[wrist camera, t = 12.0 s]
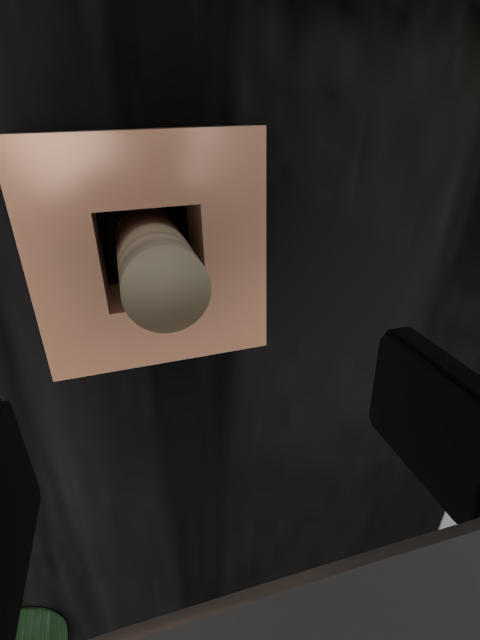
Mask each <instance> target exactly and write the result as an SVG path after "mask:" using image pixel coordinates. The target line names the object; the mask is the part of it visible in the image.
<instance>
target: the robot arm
mask: <svg viewBox="0 0 480 640" xmlns="http://www.w3.org/2000/svg"><path fill="white" fill-rule="evenodd" d="M369 416H370V421H371V423H372V425H373V427H374V428H375V429H376V430H377V432H378V433H379V434H380V435H381V436H382V437H383V439H384V440H385V441H386V442H387V443H388V444H389V446H390V447H391V448H392V449H393V450H394V451H395V453H396V454H397V455H398V456H399V457H400V458H401V460H402V461H403V462H404V463H405V464H406V465H407V467H408V468H409V469H410V470H411V471H412V473H413V474H414V475H415V476H416V477H417V478H418V480H419V481H420V482H421V483H422V484H423V485H424V487H425V488H426V489H427V490H428V491H429V492H430V494H431V495H432V496H433V497H434V498H435V499H436V501H437V502H438V503H439V504H440V505H441V506H442V508H443V509H444V510H445V511H446V512H447V513H448V514H449V516H450V517H451V518H452V519H453V520H454V521H455V522H456V523H457V524H458V525H454V526H451V527H448V528H444V529H441V530H437V531H434V532H431V533H428V534H424V535H421V536H418V537H414V538H411V539H408V540H404V541H401V542H398V543H394V544H391V545H388V546H385V547H381V548H378V549H375V550H372V551H368V552H365V553H362V554H359V555H355V556H352V557H349V558H346V559H342V560H339V561H336V562H333V563H329V564H326V565H323V566H320V567H316V568H313V569H310V570H307V571H303V572H300V573H297V574H294V575H290V576H287V577H284V578H281V579H278V580H274V581H271V582H268V583H265V584H261V585H258V586H255V587H252V588H249V589H245V590H242V591H239V592H236V593H233V594H229V595H226V596H223V597H220V598H217V599H214V600H210V601H207V602H204V603H201V604H198V605H194V606H191V607H188V608H185V609H182V610H179V611H175V612H172V613H169V614H166V615H163V616H159V617H156V618H153V619H150V620H147V621H144V622H140V623H137V624H134V625H131V626H128V627H125V628H122V629H118V630H115V631H112V632H109V633H106V634H103V635H100V636H97V637H94V638H91V639H88V640H480V375H478V374H477V373H476V372H474V371H473V370H471V369H470V368H468V367H467V366H466V365H464V364H463V363H461V362H460V361H458V360H457V359H455V358H454V357H453V356H451V355H450V354H448V353H447V352H445V351H444V350H443V349H441V348H440V347H438V346H437V345H435V344H434V343H432V342H431V341H430V340H428V339H427V338H425V337H424V336H422V335H421V334H420V333H418V332H417V331H415V330H414V329H412V328H410V327H402V328H396V329H390V330H388V331H386V333H385V335H384V336H383V337H381V339H380V343H379V350H378V357H377V364H376V371H375V378H374V385H373V392H372V399H371V406H370V413H369ZM39 506H40V490H39V485H38V482H37V479H36V476H35V473H34V471H33V468H32V465H31V462H30V459H29V456H28V453H27V450H26V447H25V444H24V441H23V438H22V435H21V432H20V429H19V426H18V423H17V420H16V417H15V414H14V411H13V408H12V405H11V403H10V402H9V401H3V402H2V401H1V399H0V640H15V639H16V634H17V628H18V622H19V617H20V611H21V606H22V600H23V595H24V589H25V583H26V578H27V572H28V567H29V561H30V556H31V550H32V545H33V539H34V533H35V528H36V522H37V517H38V511H39Z"/></svg>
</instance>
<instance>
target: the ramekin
mask: <svg viewBox="0 0 480 640" xmlns="http://www.w3.org/2000/svg"><path fill="white" fill-rule="evenodd" d="M15 640H68V631H67V624H66V622H65V620H64V618H63V617H62V616H61V615H60V614H58V613H57V612H55V611H52V610H50V609H46V608H40V607H25V608H21V611H20V617H19V622H18V628H17V634H16V639H15Z"/></svg>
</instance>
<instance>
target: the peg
mask: <svg viewBox="0 0 480 640" xmlns="http://www.w3.org/2000/svg"><path fill="white" fill-rule="evenodd" d="M115 242H116V252H117V263H118V274H119V285H120V295H121V302H122V305H123V308H124V310H125V312H126V313H127V315H128V316H129V318H130V319H131V320H132V321H133V322H134V323H136V324H137V325H138V326H140V327H142V328H143V329H146V330H148V331H151V332H155V333H173V332H178V331H181V330H183V329H185V328H188V327H189V326H191V325H192V324H194V323H195V322H196V321H197V320H198V319H199V318H200V317H201V316H202V315H203V314H204V312H205V311H206V309H207V307H208V305H209V302H210V298H211V281H210V277H209V274H208V272H207V270H206V269H205V267H204V265H203V264H202V263H201V261H200V260H199V258H198V257H197V255H196V254H195V253H194V251H193V250H192V248H191V247H190V245H189V244H188V243H187V241H186V240H185V238H184V237H183V235H182V234H181V233H180V231H179V230H178V228H177V227H176V225H175V224H174V223H173V221H172V220H171V219H170V217H169V216H168V215H166V214H165V213H164V212H162V211H160V210H158V209H155V208H147V209H135V210H131V211H130V212H128V213H127V214H126V215H124V216H123V217H122V219H121V220H120V221H119V223H118V225H117V228H116V232H115Z"/></svg>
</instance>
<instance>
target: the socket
mask: <svg viewBox="0 0 480 640" xmlns="http://www.w3.org/2000/svg"><path fill="white" fill-rule="evenodd" d="M0 185H1V189H2V192H3V196H4V200H5V203H6V207H7V211H8V215H9V218H10V222H11V226H12V230H13V233H14V237H15V241H16V244H17V248H18V252H19V256H20V259H21V263H22V267H23V271H24V274H25V278H26V282H27V285H28V289H29V293H30V297H31V300H32V304H33V308H34V312H35V315H36V319H37V323H38V326H39V330H40V334H41V338H42V341H43V345H44V349H45V353H46V356H47V360H48V364H49V367H50V371H51V375H52V379H53V382H55V381H61V380H67V379H73V378H79V377H85V376H90V375H96V374H102V373H108V372H114V371H120V370H125V369H131V368H137V367H143V366H149V365H155V364H160V363H166V362H172V361H178V360H184V359H190V358H195V357H201V356H207V355H213V354H219V353H224V352H230V351H236V350H242V349H248V348H254V347H259V346H265V345H266V125H225V126H195V127H166V128H136V129H107V130H78V131H48V132H19V133H2V134H0ZM184 205H186V209H187V221H188V233H189V245H190V247H191V248H192V250H193V251H194V253H195V254H196V255H197V257H198V258H199V260H200V261H201V263H202V264H203V265H204V267H205V269H206V270H207V272H208V274H209V277H210V281H211V298H210V302H209V305H208V307H207V309H206V311H205V312H204V314H203V315H202V316H201V317H200V318H199V319H198V320H197V321H196V322H195V323H194V324H192V325H191V326H189V327H188V328H185V329H183V330H181V331H178V332H173V333H155V332H151V331H148V330H146V329H143V328H142V327H140V326H138V325H137V324H136V323H134V322H133V321H132V320H131V319H130V318H129V316H128V315H127V313H126V312H125V310H124V308H123V305H122V302H121V295H120V285H119V283H116V284H108V278H107V272H106V267H105V261H104V255H103V250H102V244H101V239H100V233H99V227H98V222H97V216H96V213H97V212H110V211H122V210H135V209H147V208H159V207H172V206H184Z"/></svg>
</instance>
